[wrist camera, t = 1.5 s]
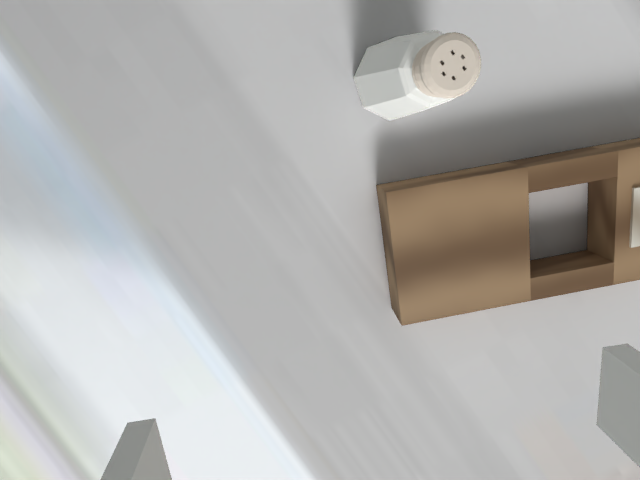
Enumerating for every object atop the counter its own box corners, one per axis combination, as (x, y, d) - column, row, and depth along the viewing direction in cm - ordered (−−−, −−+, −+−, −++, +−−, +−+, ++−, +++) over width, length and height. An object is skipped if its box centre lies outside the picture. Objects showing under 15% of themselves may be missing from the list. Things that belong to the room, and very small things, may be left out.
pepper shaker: (397, 18, 29) (465, -31, 19) (446, 83, 31) (534, 70, 20) (336, 76, 30) (369, 60, 20) (387, 137, 32) (442, 152, 21)
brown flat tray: (376, 185, 32) (386, 193, 29) (662, 133, 33) (701, 136, 30) (391, 307, 35) (402, 326, 32) (654, 257, 36) (689, 271, 33)
